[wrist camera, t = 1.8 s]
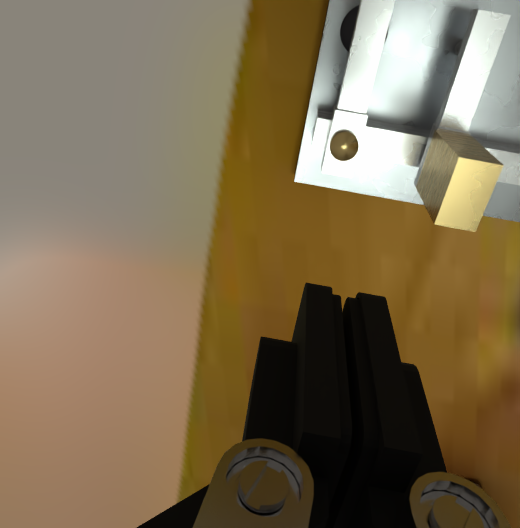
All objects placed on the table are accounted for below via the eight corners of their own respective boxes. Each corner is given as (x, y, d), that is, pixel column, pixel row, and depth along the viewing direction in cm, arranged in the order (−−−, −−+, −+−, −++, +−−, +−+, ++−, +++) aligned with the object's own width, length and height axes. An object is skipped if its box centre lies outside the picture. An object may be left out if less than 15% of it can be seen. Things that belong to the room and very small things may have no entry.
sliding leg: (457, 7, 23) (512, 12, 17) (494, 13, 23) (564, 21, 16) (405, 170, 27) (433, 226, 21) (436, 176, 27) (474, 233, 21)
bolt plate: (340, -56, 24) (345, -67, 19) (704, 7, 23) (791, 9, 19) (295, 174, 30) (291, 205, 25) (584, 226, 29) (629, 266, 25)
